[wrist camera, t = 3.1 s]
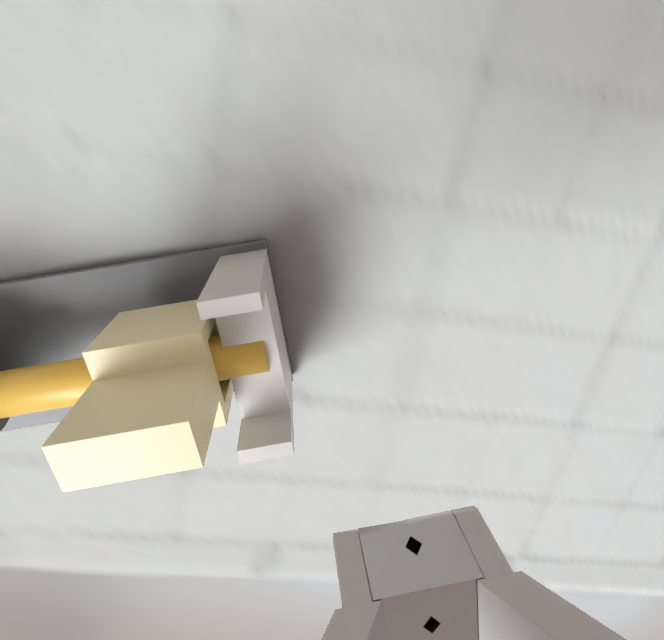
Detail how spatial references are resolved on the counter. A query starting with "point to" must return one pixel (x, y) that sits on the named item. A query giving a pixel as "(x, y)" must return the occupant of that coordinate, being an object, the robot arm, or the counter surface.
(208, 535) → the counter surface
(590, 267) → the counter surface
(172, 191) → the counter surface
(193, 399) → the notched stepped block
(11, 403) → the linear slide clamp
